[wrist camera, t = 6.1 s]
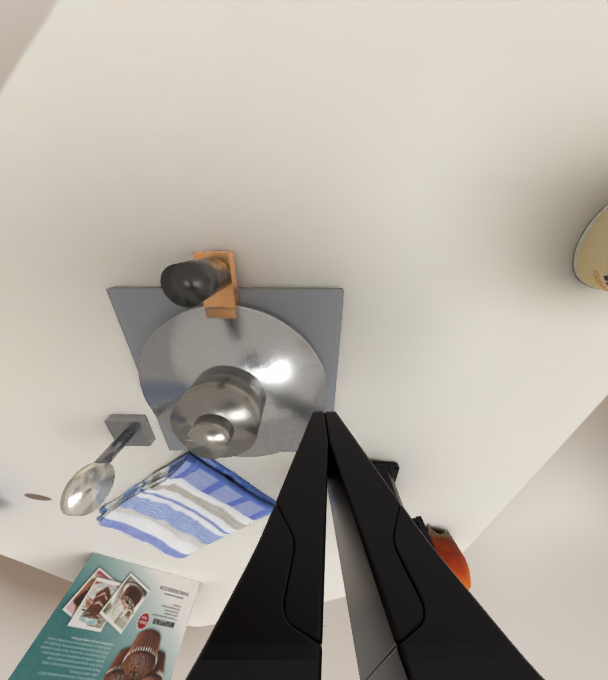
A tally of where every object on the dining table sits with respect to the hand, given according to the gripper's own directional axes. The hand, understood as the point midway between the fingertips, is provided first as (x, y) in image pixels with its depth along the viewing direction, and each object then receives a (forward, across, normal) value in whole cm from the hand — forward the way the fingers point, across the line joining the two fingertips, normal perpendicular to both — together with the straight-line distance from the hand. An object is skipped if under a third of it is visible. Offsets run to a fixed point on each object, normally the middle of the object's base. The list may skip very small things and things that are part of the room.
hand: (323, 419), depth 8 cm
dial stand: (+13, +21, +15) cm, 29 cm away
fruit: (+12, -21, +40) cm, 47 cm away
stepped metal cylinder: (+10, +8, +8) cm, 15 cm away
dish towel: (+13, +18, +32) cm, 39 cm away
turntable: (+12, +7, +6) cm, 15 cm away
